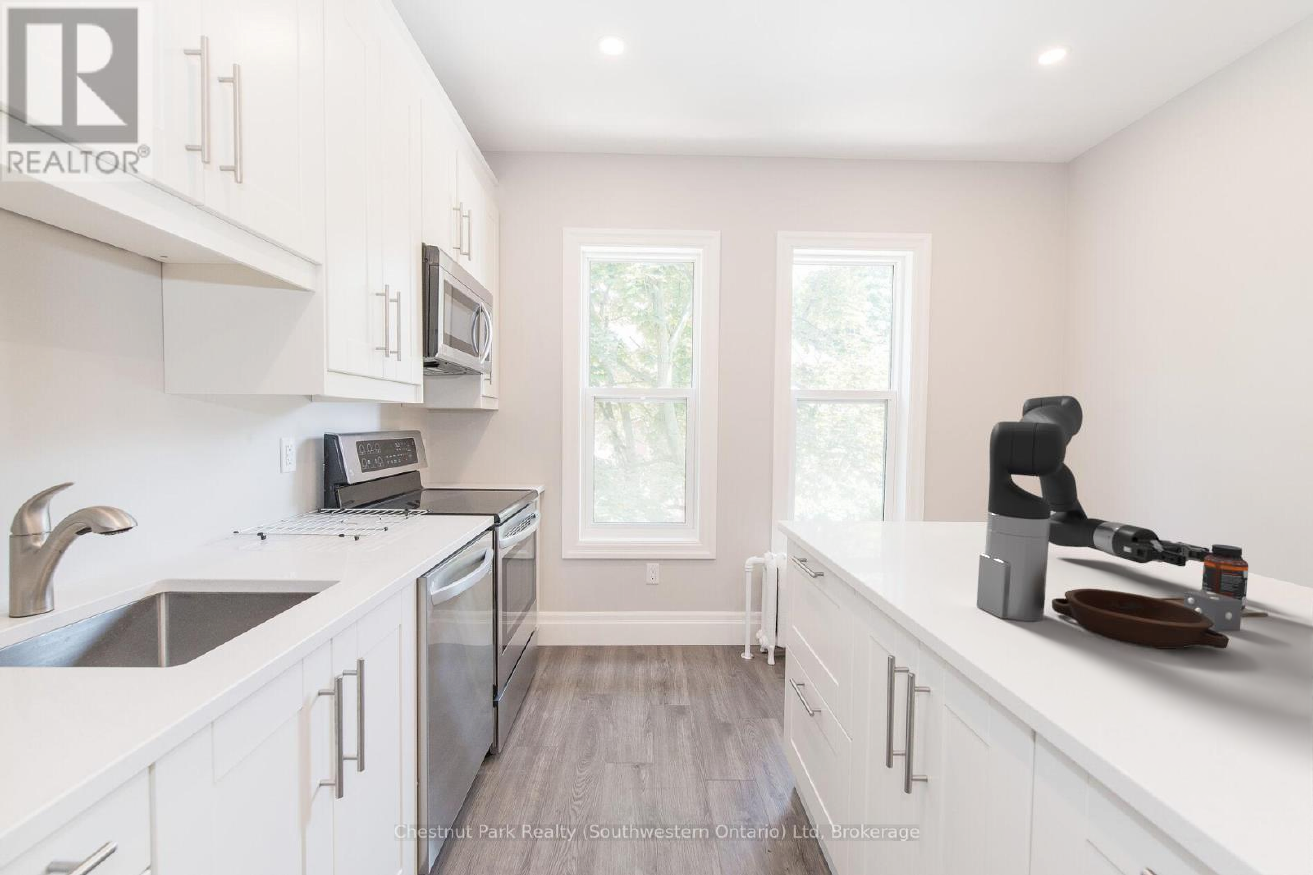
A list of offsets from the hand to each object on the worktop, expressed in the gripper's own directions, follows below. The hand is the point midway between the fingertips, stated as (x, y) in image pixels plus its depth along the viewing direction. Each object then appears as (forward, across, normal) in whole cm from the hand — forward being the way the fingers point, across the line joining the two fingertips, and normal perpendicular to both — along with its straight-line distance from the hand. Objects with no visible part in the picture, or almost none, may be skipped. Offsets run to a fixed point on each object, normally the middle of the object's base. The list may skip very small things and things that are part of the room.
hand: (1203, 561), depth 111 cm
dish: (+15, -31, +8) cm, 35 cm away
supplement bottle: (+4, 0, +8) cm, 9 cm away
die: (+12, -13, +8) cm, 19 cm away
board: (+4, -7, +8) cm, 11 cm away
